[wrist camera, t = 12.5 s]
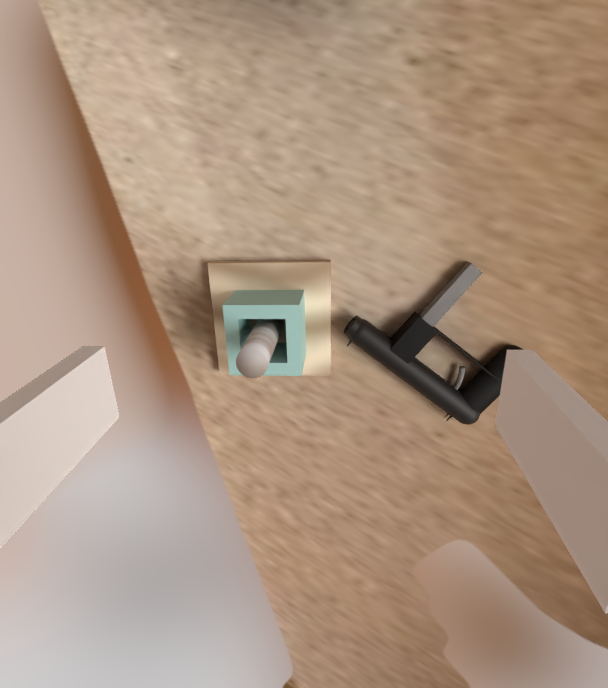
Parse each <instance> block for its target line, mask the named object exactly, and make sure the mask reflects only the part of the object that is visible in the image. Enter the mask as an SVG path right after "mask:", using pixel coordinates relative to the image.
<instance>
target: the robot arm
mask: <svg viewBox="0 0 608 688" xmlns="http://www.w3.org/2000/svg"><path fill="white" fill-rule="evenodd" d="M118 418H119V413H118V408H117V403H116V398H115V394H114V389H113V384H112V380H111V375H110V370H109V366H108V361H107V357H106V352H105V347H104V346H83V347H81V348H80V349H78V350H77V351H75V352H74V353H72V354H71V355H69V356H68V357H66V358H65V359H63V360H62V361H61V362H59V363H58V364H56V365H55V366H53V367H52V368H50V369H49V370H47V371H46V372H44V373H43V374H41V375H40V376H38V377H37V378H35V379H34V380H33V381H31V382H30V383H28V384H27V385H25V386H24V387H22V388H21V389H19V390H18V391H16V392H15V393H13V394H12V395H11V396H9V397H8V398H6V399H5V400H3V401H2V402H0V549H1V547H2V546H3V545H4V544H5V543H6V542H7V541H8V540H9V539H10V537H11V536H12V535H13V534H14V533H15V532H16V531H17V530H18V529H19V527H20V526H21V525H22V524H23V523H24V522H25V521H26V520H27V519H28V518H29V516H30V515H31V514H32V513H33V512H34V511H35V510H36V509H37V508H38V507H39V505H40V504H41V503H42V502H43V501H44V500H45V499H46V498H47V497H48V495H49V494H50V493H51V492H52V491H53V490H54V489H55V488H56V487H57V485H58V484H59V483H60V482H61V481H62V480H63V479H64V478H65V477H66V475H67V474H68V473H69V472H70V471H71V470H72V469H73V468H74V467H75V466H76V464H77V463H78V462H79V461H80V460H81V459H82V458H83V457H84V456H85V455H86V453H87V452H88V451H89V450H90V449H91V448H92V447H93V446H94V444H95V443H96V442H97V441H98V440H99V439H100V438H101V437H102V436H103V435H104V434H105V432H106V431H107V430H108V429H109V428H110V427H111V426H112V425H113V423H114V422H115V421H116V420H117V419H118ZM495 427H496V428H497V430H498V432H499V433H500V435H501V437H502V439H503V440H504V442H505V444H506V445H507V447H508V449H509V450H510V452H511V454H512V456H513V457H514V459H515V461H516V462H517V464H518V466H519V467H520V469H521V471H522V473H523V474H524V476H525V478H526V479H527V481H528V483H529V484H530V486H531V488H532V490H533V491H534V493H535V495H536V496H537V498H538V500H539V502H540V503H541V505H542V507H543V508H544V510H545V512H546V513H547V515H548V517H549V519H550V520H551V522H552V524H553V525H554V527H555V529H556V530H557V532H558V534H559V536H560V537H561V539H562V541H563V542H564V544H565V546H566V547H567V549H568V551H569V553H570V554H571V556H572V558H573V559H574V561H575V563H576V564H577V566H578V568H579V570H580V571H581V573H582V575H583V576H584V578H585V580H586V581H587V583H588V585H589V587H590V588H591V590H592V592H593V593H594V595H595V597H596V598H597V600H598V602H599V604H600V605H601V607H602V609H603V610H604V612H605V613H608V422H607V421H606V420H605V419H604V418H603V417H602V416H601V415H600V414H599V413H598V412H597V411H596V410H595V409H594V408H593V407H592V406H591V405H590V404H589V403H588V402H586V401H585V400H584V399H583V398H582V397H581V396H580V395H579V394H578V393H577V392H576V391H575V390H574V389H573V388H572V387H571V386H570V385H569V384H568V383H567V382H566V381H565V380H564V379H563V378H561V377H560V376H559V375H558V374H557V373H556V372H555V371H554V370H553V369H552V368H551V367H550V366H549V365H548V364H547V363H546V362H545V361H544V360H543V359H542V358H541V357H540V356H539V355H537V354H536V353H535V352H534V351H533V350H507V353H506V359H505V366H504V372H503V378H502V384H501V390H500V397H499V403H498V409H497V415H496V422H495Z"/></svg>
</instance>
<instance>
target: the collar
mask: <svg viewBox="0 0 608 688" xmlns="http://www.w3.org/2000/svg"><path fill="white" fill-rule="evenodd" d="M222 306H223V316H224V325H225V335H226V345H227V355H228V365H229V374H230V375H242V374H241V373H240V372H239V371H238V369H237V367H236V358H237V356H238V354H239V352H240V350H241V349H242V347H243V345H244V343H245V342H246V340H247V338H248V336H249V334H250V333H251V331H252V329H251V319H285V320H286V342H277V344H276V346H275V349H274V352H273V354H272V357H271V359H270V362H269V365H268V367H267V370H266V372H265V373H264V374H263V375H276V376H302V372H303V367H304V362H305V357H306V329H305V294H304V290H236V291H235V292H234V293H233V294H232V295H231V296H230V297H229V298H228V300H227V301H226V302H225V303H224V304H223V305H222Z"/></svg>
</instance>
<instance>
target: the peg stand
mask: <svg viewBox="0 0 608 688" xmlns="http://www.w3.org/2000/svg"><path fill="white" fill-rule="evenodd" d="M207 264H208V273H209V282H210V291H211V300H212V310H213V319H214V328H215V337H216V346H217V355H218V364H219V373H220V374H229V365H228V355H227V345H226V335H225V325H224V316H223V306H222V305H223V304H224V303H225V302H226V301H227V300H228V298H229V297H230V296H231V295H232V294H233V293H234V292H235V291H236V290H304V294H305V329H306V357H305V362H304V367H303V372H302V375H328V376H331V260H288V261H210V262H209V263H207ZM251 329H252V331H251V333H250V334H249V336H248V338H247V340H246V342H245V343H244V345H243V347H242V349H241V350H240V352H239V354H238V356H237V358H236V367H237V369H238V371H239V372H240V373H241V374H242V375H244V376H246V377H249V378H257V377H260V376H262V375H263V374H264V373H265V372H266V370H267V367H268V365H269V362H270V359H271V357H272V354H273V352H274V349H275V346H276V344H277V342H286V320H285V319H251Z"/></svg>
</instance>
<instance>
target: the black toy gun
mask: <svg viewBox="0 0 608 688" xmlns="http://www.w3.org/2000/svg"><path fill="white" fill-rule="evenodd" d="M482 273H483V272H481V271H480V270H479V269H478V268H477V267H475V266H474V265H473V264H472V263H470V262H467V263H466V264H465V265H464V266H463V267H462V268H461V269H460V270H459V272H458V273H457V274H456V275H455V276H454V277H453V278H452V279H451V280H450V281H449V282H448V283H447V285H446V286H445V287H444V288H443V289H442V290H441V291H440V292H439V293H438V294H437V295H436V296H435V298H434V299H433V300H432V301H431V302H430V303H429V304H428V305H427V307H426V308H425V309H424V310H423V311H422V312H421V313H420V314H418V313H416V312H414V313H413V314H412V315H411V316H410V318H409V319H408V320H407V321H406V322H405V323H404V324H403V325H402V326H401V327H400V328H399V330H398V331H397V332H396V333H395V334H394V335H393V336H392V337H391V338H389V337H388V336H386V335H385V334H384V333H382V332H381V331H380V330H378V329H377V328H376V327H374V326H373V325H372V324H370V323H369V322H368V321H366V320H364V319H361V318H359V317H358V316H355V317H354V318H353V319H352V320H351V321H350V322H349V323H348V325H347V326H346V328H345V330H344V333H345V334H346V335H347V336H348V337H349V339H350V341H349V342H350V343H351V342H353V343H355V344H356V345H357V346H359V347H360V348H361V349H363V350H364V351H365V352H367V353H368V354H369V355H371V356H372V357H373V358H375V359H376V360H377V361H379V362H380V363H382V364H383V365H384V366H386V367H387V368H388V369H390V370H391V371H392V372H394V373H395V374H396V375H398V376H399V377H400V378H402V379H403V380H404V381H406V382H407V383H408V384H410V385H411V386H412V387H414V388H415V389H416V390H418V391H419V392H420V393H422V394H423V395H424V396H426V397H427V398H428V399H430V400H431V401H432V402H434V403H435V404H436V405H438V406H439V407H440V408H442V409H443V410H444V411H446V412H447V413H448V414H450V415H451V416H450V417H449V418H451V417H452V416H453V417H454V418H455V419H457V420H458V421H459V422H461V423H463V424H473V423H475V422H476V421H477V420H478V418H479V416H480V414H481V413H482V412H483V411H484V410H485V409H486V408H487V407H488V406H489V405H490V404H491V403H492V402H493V401H494V400H495V399H496V398H497V397H498V396H499V395H500V390H501V384H502V378H503V372H504V366H505V359H506V353H507V350H523V349H521V348H520V347H517V346H513V345H509V346H506V347H505V348H504V349H503V350H502V351H501V352H500V353H499V354H498V355H497V356H496V357H495V358H494V359H493V360H492V361H491V362H490V363H489V364H488V365H487V366H486V367H485V366H484V365H482V364H481V363H480V362H479V361H477V360H476V359H475V358H474V357H472V356H471V355H470V354H468V353H467V352H466V351H465V350H463V349H462V348H461V347H460V346H458V345H457V344H456V343H454V342H453V341H452V340H451V339H449V338H448V337H447V336H446V335H444V334H443V333H442V332H440V331H439V330H438V329H437V328H435V327H434V325H435V324H436V323H437V322H438V321H439V320H440V319H441V318H442V317H443V315H444V314H445V313H446V312H447V311H448V310H449V309H450V308H451V307H452V306H453V304H454V303H455V302H456V301H457V300H458V299H459V298H460V297H461V296H462V295H463V294H464V292H465V291H466V290H467V289H468V288H469V287H470V286H471V285H472V284H473V283H474V281H475V280H476V279H477V278H478V277H479V276H480V275H481V274H482ZM436 333H437V334H439V335H440V336H441V337H442V338H444V339H445V340H446V341H448V342H449V343H450V344H451V345H453V346H454V347H455V348H456V349H458V350H459V351H460V352H462V353H463V354H464V355H465V356H467V357H468V358H469V359H471V360H472V361H473V362H474V363H476V364H477V365H478V366H479V367H481V368H482V369H483V370H482V371H481V372H480V373H479V374H478V375H477V376H476V377H475V378H474V379H473V380H472V381H471V382H470V383H469V384H468V385H467V386H466V387H465V388H464V389H463V390H462V391H461V392H460V391H458V388H459V387H460V385H461V383H462V381H463V378H464V373H465V367H464V366H460V367H459V374H458V379H457V382H456V384H455V386H454V387H453V386H452V385H451V384H449V383H448V382H447V381H445V380H444V379H443V378H441V377H440V376H439V375H437V374H436V373H435V372H434V371H432V370H431V369H430V368H428V367H427V366H426V365H424V364H423V363H422V362H420V361H419V360H418V359H416V358H415V356H416V355H417V354H418V353H419V352H420V351H421V350H422V348H423V347H424V346H425V345H426V344H427V343H428V342H429V341H430V340H431V339H432V338H433V336H434V335H435V334H436ZM350 343H349V344H350ZM349 344H348V345H349ZM348 345H347V346H348ZM448 414H447V415H448ZM447 415H446V416H447ZM446 416H445V417H446ZM445 417H444V418H445ZM444 418H443V419H444ZM449 418H448V419H449ZM448 419H447V420H448ZM447 420H446V421H447Z"/></svg>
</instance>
